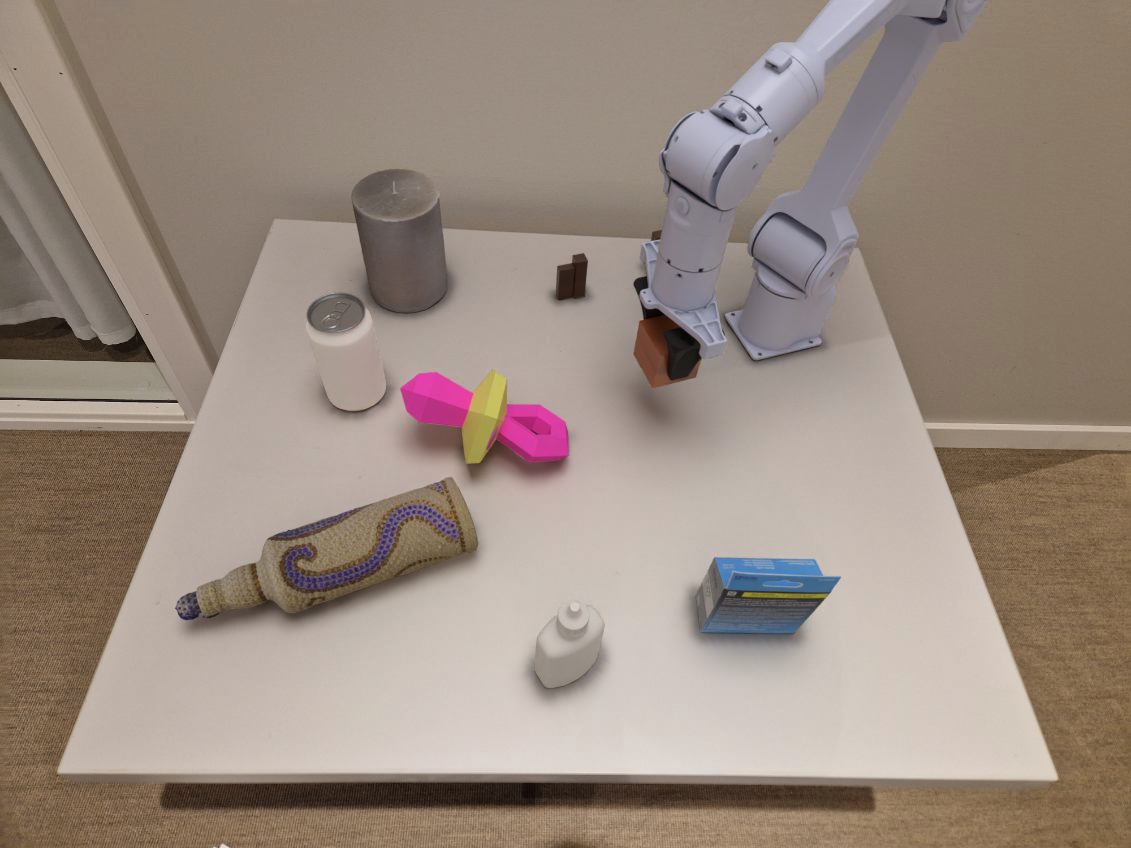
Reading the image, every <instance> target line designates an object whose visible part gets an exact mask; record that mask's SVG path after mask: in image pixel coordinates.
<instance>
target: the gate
mask: <svg viewBox="0 0 1131 848" xmlns="http://www.w3.org/2000/svg"><path fill="white" fill-rule="evenodd" d="M661 233H662V229H659V230H653V231H652V232H651V237H650V241H655V240H660V238H661ZM571 257H572V258H571V262H570V263H565V264H559V265H557V266H556V278H555V279H556V280H555V297H556V299H557V301H562V300H568V299H579V298H584V297H586V287H587V278H588V277H587V276H588V265H589V260H588V258H587V256H586V254H585V252H581V253H575V254H572V256H571Z"/></svg>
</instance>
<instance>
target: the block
mask: <svg viewBox="0 0 1131 848" xmlns="http://www.w3.org/2000/svg"><path fill="white" fill-rule="evenodd" d="M679 327H680V326H679V325H678V324H676V323H675V322H674V321H673V320H671V319H670V318H669V317H668V316H666V315H662V316H658V317H653V318H649V319H644V320H643V319H640V320H639V321H638V326H637V333H636V336H635V337H636V338H635V342H634V349H633V357H634V359H635V360H636V362H637V364H638V365H639V368H640V370H641V371H642V373H643V375H644V376H645V379H646V380H647V382H648V384H649V385H650V387H651V389H657V388H661V387H665V386H668V385H669V386H670V385H673V384H677V383H681V382H684V381H687V380H688V381H689V380H693V379H696V378H697V376H698V372H699V369H700V366H701V362H702V360H703V359H702V358H701V360H700V361H699V362H698V363H697V364H696V366H695V367H694V368H693V370H692V371H691V373H690V374H689V376H688V377H685V378H681V379H677V380H673V381H671V380H670V379H669V377H668V373H667V364H668V347H667V343H666V340H665V338H664V336H663V331H666V330H671V329H675V328H679Z"/></svg>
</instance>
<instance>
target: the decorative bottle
mask: <svg viewBox="0 0 1131 848" xmlns="http://www.w3.org/2000/svg"><path fill="white" fill-rule="evenodd" d="M478 547H479V539H478V534H477V530H476V527H475V524H474V520H473V517H472V515H471V512H470V509H469V508H468V505H467V502H466V499H465V498H464V496H463V494H462V492H461V490H460V488H459V486H458V484H457V483H456V481H455V479H454V478H453V476H448V477H445V478H443V479H442V480H440V481H438V482H434V483H430V484H427V485H426V486H425V485H424V486H423V487H420V488H415V489H412V490H409V491H406V492H403V493H399V494H397V495H394V496H390V497H387V498H384V499H380V500H379V501H375V502H372V503H369V504H366V505H363V506H358V507H356V508H353V509H350V510H347V511H344V512H341V513H339V514H336V515H331V516H329V517H328V516H327V517H326V518H322V519H320V520H316V521H313V522H310V523H307V524H305V525H302V526H299V527H296V528H292V529H288V530H286V531H281V532H278V533H275V534H274V535H271V536H269V537H267V539H266V540H265V542H264V544H263V547H262V550H261V556H260V558H259V559H258V561H256V562H252V563H247V564H244V565H240V566H238V567H236V568H233V569H232V570H230V571H228V573H226V574H225V575H224V576H223V577H222V578H218V579H215V580H211V581H209V582H206V583H204V584H202V585H201V584H200V585H198V586H197V587H196V589H195V590H196V591H192V592H188V593H186V594H184V595H183V596H180V598H179V599H177V601H176V604H175V607H174V609H175V610H176V612H177V615H178V617H179V618H180V619H181V620H184V621H193V620H195V619H199V616H200V615H201V614H202V618H203V619H212V618H214V617H217V616H219V615H220V614H223V613H224V612H226V611H229V610H232V609H233V610H240V609H242V610H243V609H249V608H250V609H251V608H253V607H257V606H259V605H263V604H264V603H266V602H267V601H273V602H274V603H276V605H277V606H278V607H279V608H280V609H282V610H283V611H284V612H285V613H288V614H296V613H299V612H301V611H304V610H307V609H310V608H313V607H314V606H317V605H320V604H322V603H325V602H330V601H332V600H334V599H337V598H340V597H343V596H346V595H349V594H351V593H354V592H357V591H359V590H363V589H365V588H369V587H371V586H374V585H376V584H380V583H383V582H385V581H388V580H391V579H393V578H398V577H400V576H403V575H407V574H409V573H412V572H416V571H418V570H420V569H422V568H427V567H428V566H431V565H435V564H437V563H441V562H442V561H447V560H449V559H450V558H453V557H456V556H460V555H462V554H470V553H472V552H475V551H477V549H478Z"/></svg>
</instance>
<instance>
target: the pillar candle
mask: <svg viewBox="0 0 1131 848" xmlns="http://www.w3.org/2000/svg"><path fill="white" fill-rule="evenodd" d="M350 195H351V198H350V199H351V203H352V209H353V214H354V218H355V224H356V229H357V233H358V238H359V244H360V248H361V254H362V260H363V265H364V269H365V273H366V278H367V282H368V288H369V291H370V296H371V297H372V299H373V300H374V302H375V303H376V304H377V305H379V306H380V307H382V308H384V309H385V310H389V311H392V312H397V313H404V314H405V313H407V314H408V313H417V312H422V311H424V310H427V309H430V307H432V306H433V305H434V304H436V303H438V301H440V300H441V299H442V298H444V296H445V294H446V293H447V289H448V273H447V261H446V260H447V259H446V253H445V252H446V249H445V239H444V231H443V222H442V212H441V202H440V198H441V192H440V190H439V188H438V186H437V184H436V183H435V181H434V180H433V179H432V178H430V177H429V176H428V175H426V174H424V173H423V172H420V171H416V170H413V169H406V168H388V169H383V170H379V171H375V172H372V173H370V174H368V175H366V176H365V177H363V178H362V179H359V181H358V182H357V183H356V184H355V185H354V187H353V188H352V191H351V194H350Z"/></svg>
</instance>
